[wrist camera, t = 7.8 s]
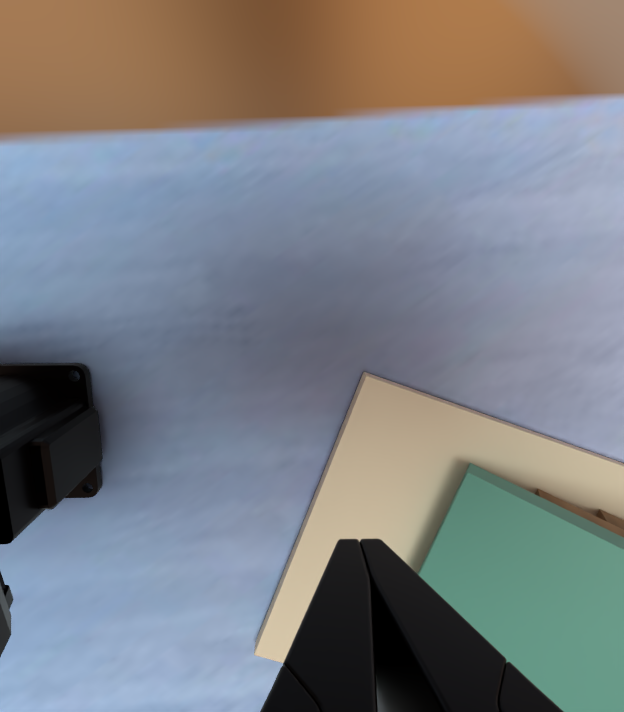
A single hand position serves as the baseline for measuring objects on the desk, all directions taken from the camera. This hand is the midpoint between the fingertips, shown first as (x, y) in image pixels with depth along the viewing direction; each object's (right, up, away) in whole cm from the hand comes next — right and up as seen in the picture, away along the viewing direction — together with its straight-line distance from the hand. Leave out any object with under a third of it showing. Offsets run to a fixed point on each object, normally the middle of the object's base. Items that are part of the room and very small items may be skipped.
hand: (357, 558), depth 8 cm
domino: (+4, -6, +12) cm, 14 cm away
